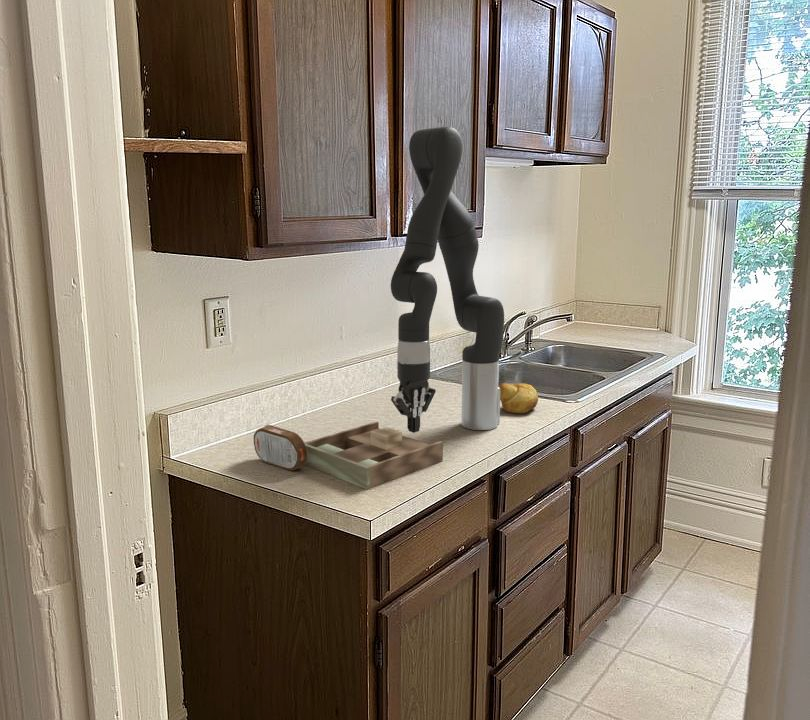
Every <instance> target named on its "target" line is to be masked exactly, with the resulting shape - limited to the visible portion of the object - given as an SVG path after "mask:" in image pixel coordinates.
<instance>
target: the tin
mask: <svg viewBox="0 0 810 720" xmlns="http://www.w3.org/2000/svg"><path fill="white" fill-rule="evenodd" d="M253 446H254V450H255V453H256V456H258V458H259V460H261V461H262V462H264V463H266V464H269V465H272V466H274V467H277V468H281V469H284V470H286V471H291V472H292V471H294V470H298V469H300V468H303V467H304V466H306V465H305V464H306V461H307V449H306V446H305V442H304V440H303V438H302V437H301V436H300V435H299V434H298V433H296V432H294V431H290V430H288V429H284V428H280V427H278V426H275V425H271V424H268V425H264V426H262V427H260V428H258V429H257V430H256V431H255V432H254V434H253Z"/></svg>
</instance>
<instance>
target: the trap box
mask: <svg viewBox="0 0 810 720" xmlns="http://www.w3.org/2000/svg"><path fill="white" fill-rule="evenodd" d="M379 424H380V423H379V421H373V422H370V423H366V424H363V425H360V426H359V425H358V426H357V427H356V426H355V427H353V428H350V429H347V430H342V431H340V432H337V433H333V434H329V435H326V436H323V437H319V438H316V439H312V440H308V441H306V442H304V443H305V446H306V449H307V461H306V464H305V465H304V466H308V467H310V468H313V469H315V470H317V471H320V472H322V473H326V474H328V475H331V476H333V477H335V478H338V479H340V480H343V481H345V482H348V483H351V484H353V485H355V486H357V487H359V488H363V489H365V490H369V489H372V488H374V487H376V486H380V485H382V484H385V483H387V482H390V481H393V480H395V479H398V478H401V477H404V476H406V475H409V474H411V473H414V472H417V471H420V470H422V469H425V468H428V467H430V466H434V465H436V464H439V463H442V462H443V461H444V460H443V459H444V458H443V457H444V456H443V454H444V453H443V452H444V442H443V441H442V440H440V441H436V442H433V443H431V444H430V443H426V442H423V441H421V440H417V439H414V438H411V437H408V436H405V435H402V445H399V446H396V447H393V448H390V449H387V450H385V449H382V448H379V447H376V446H373V445H371V432H372V431H375V430H379V429H381V428H379V427H380V425H379Z"/></svg>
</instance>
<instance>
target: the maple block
mask: <svg viewBox="0 0 810 720" xmlns="http://www.w3.org/2000/svg"><path fill="white" fill-rule="evenodd" d="M402 436H403V431H400V430H397V429H394V428H391V427H387V426H385V427H382V428H380V429H379V430H375V431H372V432H371V445H373V446H376V447H379V448H382V449H385V450H387V449H390V448H393V447H396V446H399V445H402Z"/></svg>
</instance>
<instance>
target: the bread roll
mask: <svg viewBox="0 0 810 720" xmlns="http://www.w3.org/2000/svg"><path fill="white" fill-rule="evenodd" d="M498 387H499V388H500V404H501V407H502V409H503V410H504V411H505V412H507V413H512V414H526V413H528V412H529V411H532V410H533V409H535V408H536V407H537V404H538V401H539V394H538V392H537V390H536V389H535V388H534V387H533V386H532V385H531V384H528V383H521V382H520V383H518V382H517V383H513V384H509V383H506V382H503V383H500V384H498Z"/></svg>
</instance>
